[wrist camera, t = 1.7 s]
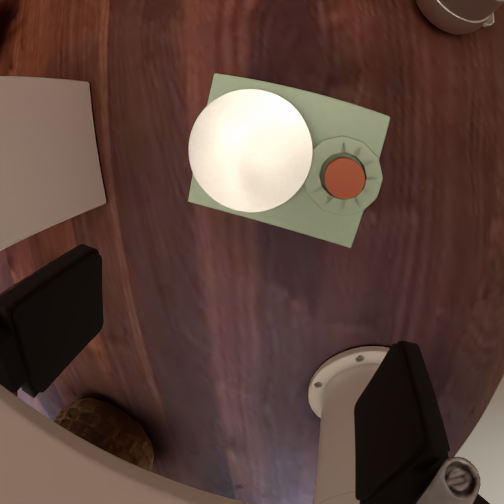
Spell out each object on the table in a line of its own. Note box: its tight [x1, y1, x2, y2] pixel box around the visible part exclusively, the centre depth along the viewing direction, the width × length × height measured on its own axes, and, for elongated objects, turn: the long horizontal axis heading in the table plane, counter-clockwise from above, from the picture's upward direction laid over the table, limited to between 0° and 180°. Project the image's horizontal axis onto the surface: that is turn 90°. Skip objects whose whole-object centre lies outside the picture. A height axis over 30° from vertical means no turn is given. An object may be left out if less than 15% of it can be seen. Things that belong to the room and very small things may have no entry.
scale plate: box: [188, 89, 313, 213], centre depth 22 cm, size 9×9×1 cm
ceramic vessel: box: [54, 398, 154, 471], centre depth 35 cm, size 23×24×25 cm
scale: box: [188, 73, 390, 248], centre depth 24 cm, size 14×11×4 cm
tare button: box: [324, 157, 365, 199], centre depth 21 cm, size 3×3×2 cm
